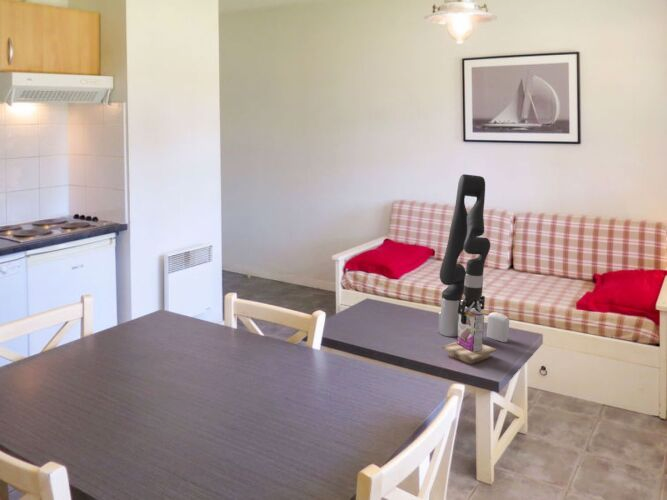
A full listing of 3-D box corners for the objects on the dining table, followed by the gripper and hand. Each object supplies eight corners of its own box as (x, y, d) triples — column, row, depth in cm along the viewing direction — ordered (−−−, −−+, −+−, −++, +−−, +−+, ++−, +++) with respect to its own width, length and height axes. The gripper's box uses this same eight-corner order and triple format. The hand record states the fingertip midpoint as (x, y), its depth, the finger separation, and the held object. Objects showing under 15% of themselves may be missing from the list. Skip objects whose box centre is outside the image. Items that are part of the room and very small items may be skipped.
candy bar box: (456, 344, 280) (458, 307, 276) (465, 342, 282) (468, 306, 278) (472, 352, 270) (475, 315, 266) (482, 351, 272) (485, 313, 269)
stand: (441, 355, 278) (442, 346, 277) (465, 347, 288) (466, 338, 287) (471, 366, 266) (472, 357, 265) (495, 358, 276) (496, 349, 275)
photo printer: (485, 337, 301) (487, 311, 299) (490, 335, 304) (492, 309, 301) (503, 343, 294) (505, 317, 291) (509, 341, 296) (511, 315, 294)
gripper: (477, 279, 277) (473, 316, 281) (455, 284, 268) (452, 322, 272) (491, 284, 271) (488, 321, 275) (469, 289, 263) (466, 327, 266)
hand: (470, 321), depth 273 cm, fingers open, 8 cm apart
